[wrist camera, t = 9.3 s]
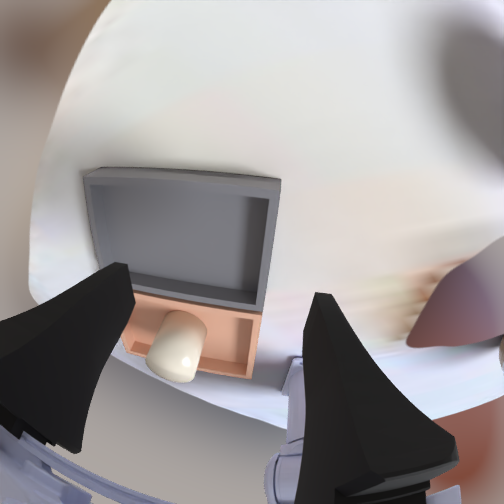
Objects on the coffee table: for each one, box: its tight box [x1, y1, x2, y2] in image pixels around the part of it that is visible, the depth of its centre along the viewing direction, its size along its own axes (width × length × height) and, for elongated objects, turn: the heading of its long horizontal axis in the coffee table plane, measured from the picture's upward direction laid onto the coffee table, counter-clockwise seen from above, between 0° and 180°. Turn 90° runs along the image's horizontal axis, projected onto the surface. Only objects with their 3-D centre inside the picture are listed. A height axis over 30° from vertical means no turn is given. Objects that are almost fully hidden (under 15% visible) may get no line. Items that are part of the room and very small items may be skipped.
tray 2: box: [121, 289, 262, 379], centre depth 25 cm, size 14×10×2 cm
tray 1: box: [83, 167, 281, 312], centre depth 20 cm, size 14×10×2 cm
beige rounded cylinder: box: [145, 311, 207, 383], centre depth 23 cm, size 4×4×5 cm
